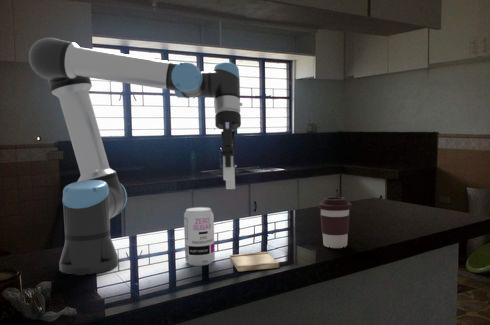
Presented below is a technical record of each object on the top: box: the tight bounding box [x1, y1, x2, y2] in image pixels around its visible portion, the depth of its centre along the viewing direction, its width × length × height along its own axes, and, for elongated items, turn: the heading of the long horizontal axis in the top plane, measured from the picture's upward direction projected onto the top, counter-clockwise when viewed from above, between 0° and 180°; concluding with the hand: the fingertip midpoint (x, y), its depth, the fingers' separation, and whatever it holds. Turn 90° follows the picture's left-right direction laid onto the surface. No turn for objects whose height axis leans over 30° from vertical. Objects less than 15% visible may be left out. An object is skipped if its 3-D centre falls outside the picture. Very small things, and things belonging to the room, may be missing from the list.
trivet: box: [229, 251, 280, 272], centre depth 114 cm, size 11×11×1 cm
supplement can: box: [183, 206, 216, 267], centre depth 117 cm, size 8×8×15 cm
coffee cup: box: [318, 196, 352, 249], centre depth 130 cm, size 10×10×15 cm
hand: (229, 184), depth 118 cm, fingers open, 13 cm apart
